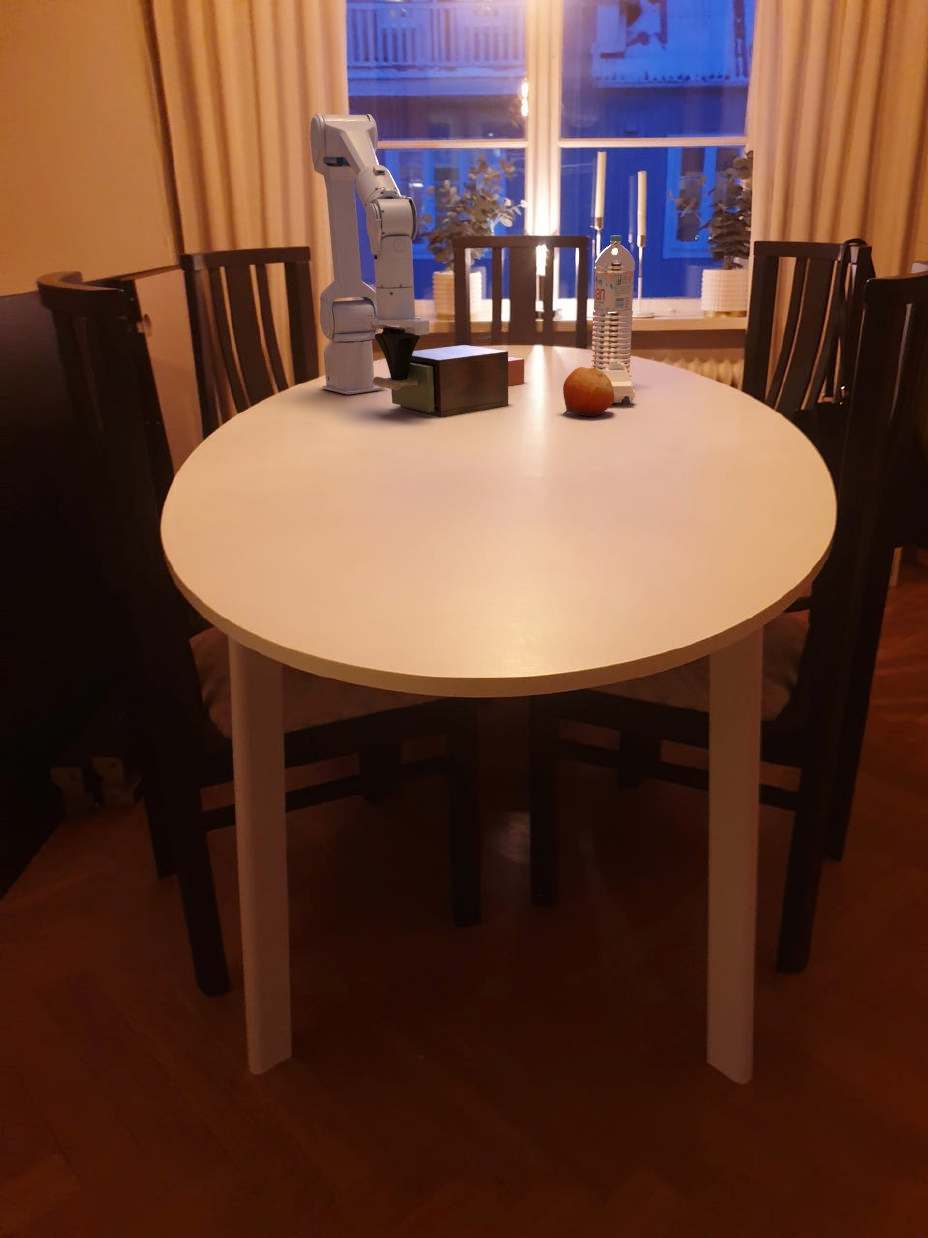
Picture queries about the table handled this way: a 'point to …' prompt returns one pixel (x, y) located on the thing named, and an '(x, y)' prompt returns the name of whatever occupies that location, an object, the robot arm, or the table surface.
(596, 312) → the water bottle
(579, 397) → the fruit
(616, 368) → the toy car
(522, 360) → the block
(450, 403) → the cabinet
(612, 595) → the table surface
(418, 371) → the drawer
